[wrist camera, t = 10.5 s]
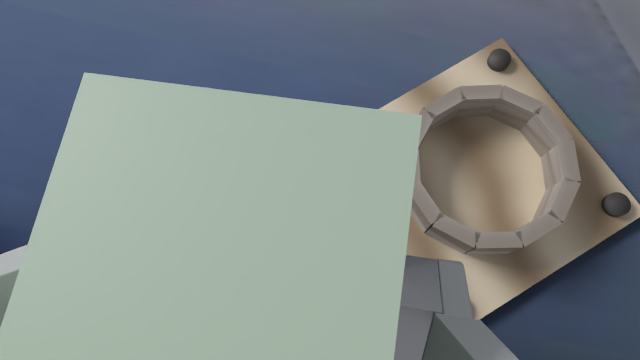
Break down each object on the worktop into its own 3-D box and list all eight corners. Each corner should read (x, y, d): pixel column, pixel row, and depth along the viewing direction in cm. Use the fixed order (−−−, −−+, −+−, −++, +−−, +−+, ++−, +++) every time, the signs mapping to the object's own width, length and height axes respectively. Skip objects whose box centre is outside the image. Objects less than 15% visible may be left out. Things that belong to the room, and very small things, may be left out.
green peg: (356, 381, 17) (374, 528, 5) (220, 356, 17) (-36, 440, 6) (375, 242, 18) (421, 114, 7) (248, 223, 19) (84, 72, 7)
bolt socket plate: (446, 338, 31) (459, 341, 28) (323, 145, 36) (320, 125, 32) (639, 215, 33) (675, 202, 29) (498, 43, 37) (515, 14, 33)
